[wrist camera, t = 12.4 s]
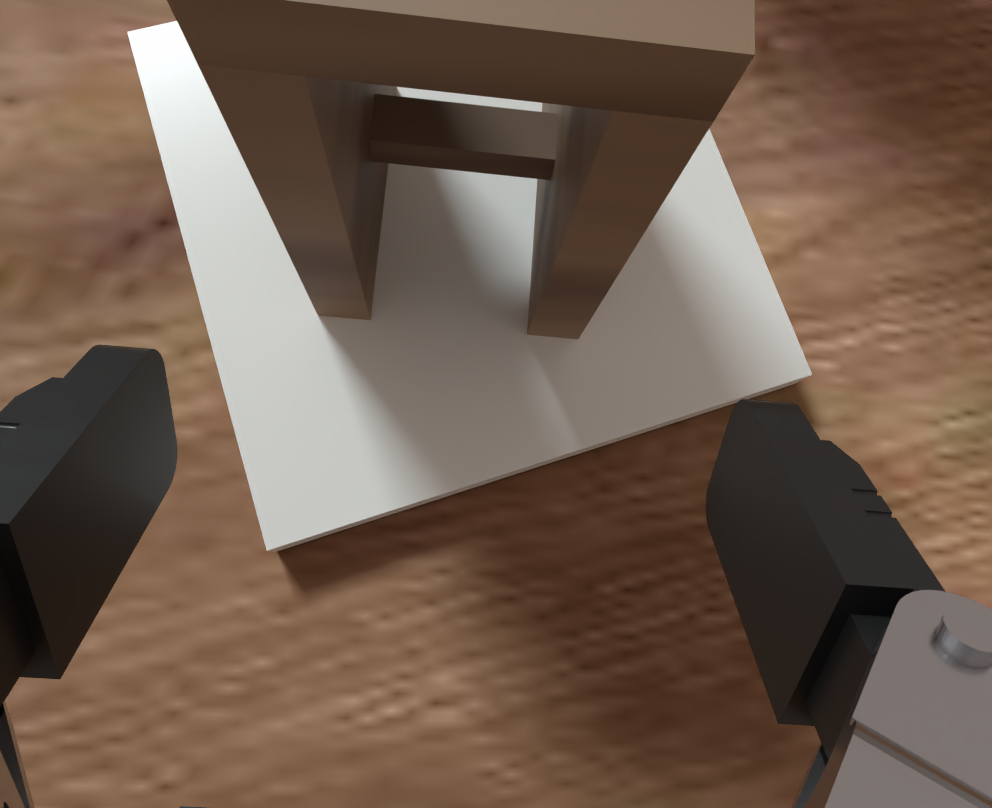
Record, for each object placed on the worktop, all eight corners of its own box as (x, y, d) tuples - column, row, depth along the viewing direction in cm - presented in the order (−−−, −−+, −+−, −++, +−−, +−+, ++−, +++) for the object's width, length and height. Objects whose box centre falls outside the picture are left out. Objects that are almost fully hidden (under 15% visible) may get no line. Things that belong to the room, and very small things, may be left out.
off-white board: (276, 551, 17) (266, 550, 16) (142, 58, 19) (127, 31, 18) (792, 384, 19) (812, 374, 18) (613, -49, 21) (622, -79, 20)
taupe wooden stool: (578, 339, 18) (754, 54, 8) (317, 315, 17) (160, -15, 7) (589, 109, 19) (754, -383, 9) (347, 82, 18) (247, -459, 9)
